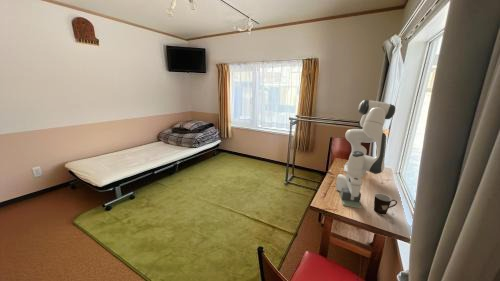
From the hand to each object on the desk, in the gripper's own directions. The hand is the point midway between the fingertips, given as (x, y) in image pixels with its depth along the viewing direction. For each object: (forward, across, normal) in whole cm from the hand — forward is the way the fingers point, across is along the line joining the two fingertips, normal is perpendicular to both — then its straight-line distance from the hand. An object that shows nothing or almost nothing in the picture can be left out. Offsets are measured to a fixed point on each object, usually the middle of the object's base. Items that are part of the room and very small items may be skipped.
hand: (350, 195), depth 129 cm
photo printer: (+4, -12, -2) cm, 12 cm away
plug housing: (+3, 0, 0) cm, 3 cm away
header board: (+4, 0, 0) cm, 4 cm away
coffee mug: (+4, +8, +17) cm, 19 cm away
